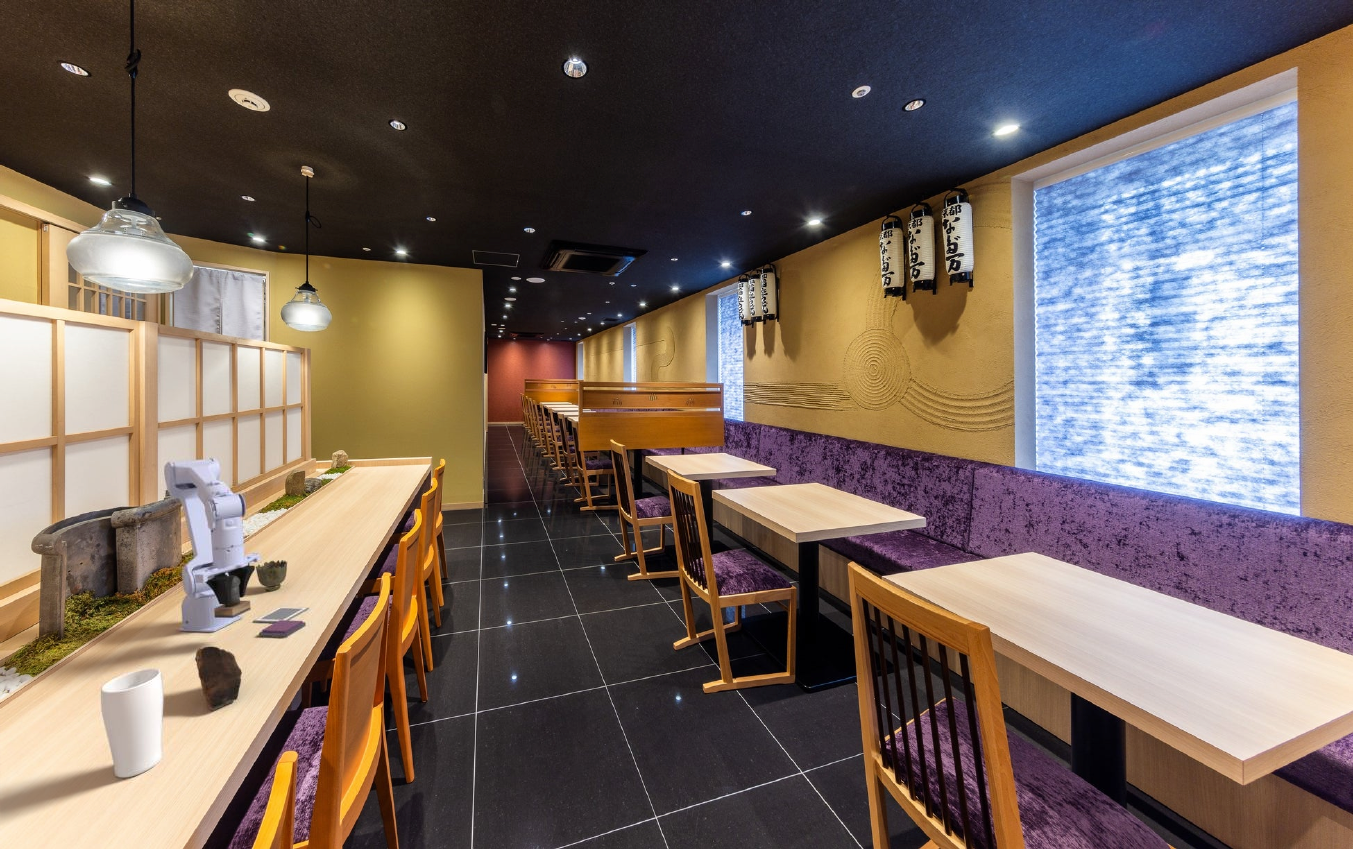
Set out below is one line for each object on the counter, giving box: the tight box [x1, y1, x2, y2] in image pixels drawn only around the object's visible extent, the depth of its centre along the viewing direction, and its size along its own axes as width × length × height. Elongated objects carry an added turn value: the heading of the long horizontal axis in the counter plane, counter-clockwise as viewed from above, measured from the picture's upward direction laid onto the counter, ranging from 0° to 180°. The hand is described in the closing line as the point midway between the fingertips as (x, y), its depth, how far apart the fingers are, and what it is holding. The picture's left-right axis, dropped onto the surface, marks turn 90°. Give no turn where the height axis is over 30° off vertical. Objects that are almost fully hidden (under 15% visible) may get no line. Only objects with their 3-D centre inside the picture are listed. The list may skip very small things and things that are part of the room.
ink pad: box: [258, 620, 307, 639], centre depth 126 cm, size 7×6×2 cm
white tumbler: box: [100, 668, 165, 779], centre depth 80 cm, size 7×7×15 cm
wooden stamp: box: [214, 576, 252, 618], centre depth 120 cm, size 5×5×9 cm
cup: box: [255, 560, 288, 592], centre depth 151 cm, size 8×7×8 cm
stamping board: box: [252, 606, 310, 624], centre depth 134 cm, size 8×8×1 cm
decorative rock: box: [194, 645, 243, 711], centre depth 99 cm, size 12×6×11 cm, turn 50°
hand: (232, 600), depth 120 cm, fingers closed on wooden stamp, 3 cm apart
